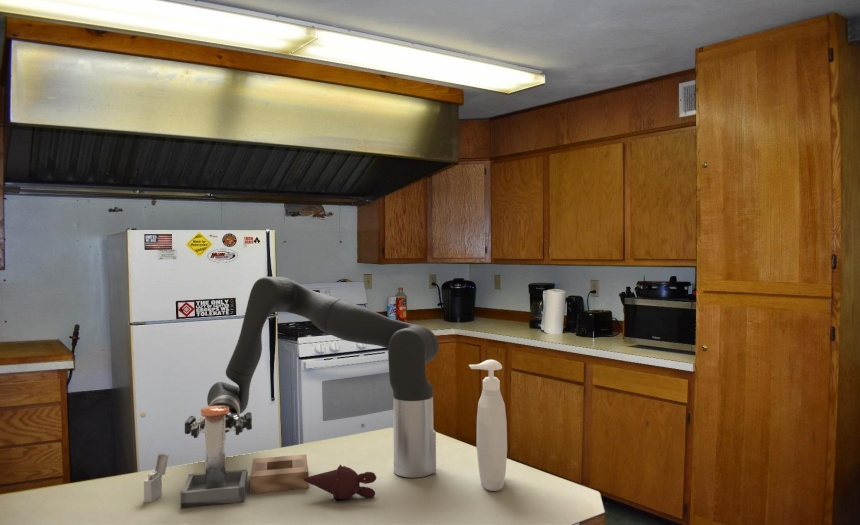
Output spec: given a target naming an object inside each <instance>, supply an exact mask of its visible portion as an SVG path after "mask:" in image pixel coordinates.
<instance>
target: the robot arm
mask: <svg viewBox="0 0 860 525" xmlns="http://www.w3.org/2000/svg"><path fill="white" fill-rule="evenodd" d="M271 313H289V314H294V315H297V316H300V317H303V318H305V319H307V320H309V321H310V322H311V323H312V324H313V325H314V326H315V327H316V328H318V329H319V330H320V331H322V332H324V333H326V334H327V335H330V336H332V337H335V338H338V339H340V340H343V341H347V342H351V343H357V344H364V345H372V346H379V347H382V348H386V349H388V352H387V356H388V360H387V361H388V376H389V384H390V387H391V390H392V396H393V397H392V401H393V403H392V408H393V410H392V412H393V413H392V414H393V415H392V416H393V420H392V421H393V424H392V425H393V426H392V427H393V473H394V474H395V475H397V476H400V477H404V478H412V479H413V478H421V477H422V478H423V477H427V476H429V475H432V474H437V433H436V430H435V429H434V387H433V384H432V383H431V382H430V381H428V380H427V374H426V371H427V370H426V364H428V363H430V362H431V361H433V360H434V359H435V358H436V356H437V354H438V352H439V349H440V343H439V340H438V338H437V335H435V333H434V332H433V331H432V329H431V330H430V329H429V328H428V327H426V326H422V325H420V324H413V323H409V322H405V321H401V320H398V319H394V318H390V317H387V316H385V315H384V314H381V313H379V312H376V311H374V310H372V309H370V308H366V307H363V306H361V305H359V304H356V303H354V302H350V301H348V300H345V299H342V298H340V297H336V296H333V295H330V294H326V293H322V292H317V291H314V290H313V289H310V288H308V287H306V286H304V285H303V284H300V283H298V282H296V281H295V280H292V279H290V278H288V277H283V276H263V277H260V278H258V279H257V280H256V281H255V282H254V284H253V286H252V287H251V290H250V293H249V296H248V301H247V304H246V308H245V312H244V316H243V321H242V326H241V330H240V333H239V337H238V339H237V343H236V345H235V347H234V350H233V352H232V355H231V357H230V359H229V362H228V364H227V367H226V369H225V376H226V377H227V378H228V380H230V381H231V382H233V383H235V384H236V385H237V386H236V385H233V384H230V383H227V382H224V381H218V382H215V383H214V384H212V386H211V387H209V388H210V389H209V391H208V393H207V398H206V399H207V400H206V401H207V403H206V404H207V407H210V406H228V407H229V413H228V414H226V415H225V434H227V433H229V432H235V436H239V435H240V433H243V431H245V430H244V429H246V430H247V431H250V430H252V429H253V424H252V423H253V422H252V421H253V416H252V412H250V411H249V412H248V411H247V412H246V413H244V412H245V411H246V409H247V407H248V404H249V396H250V390H251V389H250V388H251V382H252V379H253V376H254V373H255V371H256V369H257V367H258V365H259V363H260V360H261V357H262V351H263V342H262V341H263V338H262V336H263V335H262V334H263V329H264V326H265V324H266V321H267V319H268V318H269V316H270V315H271ZM243 413H244V414H243ZM241 414H243V415H242V416H240V415H241ZM184 434H185V435H189V434H190V436H191V437H193V438H194V439H198V438H199V435H200V434H205V417H204V416H201V417H200V418H198V419H197V417H196V416H194V415H191V416H188V418H187V419H186V420H185V422H184Z"/></svg>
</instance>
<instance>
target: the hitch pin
mask: <svg viewBox="0 0 860 525" xmlns="http://www.w3.org/2000/svg"><path fill="white" fill-rule="evenodd" d="M228 413H229V407H228V406H210V407H209V406H206V407H203V408H201V409H200V416H201V417H205V433H204V446H205V447H204V450H205V452H204V454H205V455H204V458H205V459H204V461H205V462H204V463H205V464H204V465H205V472H204V473H205V474H206V489H212V488H223V487H226V471H227V468H226V466H227V465H226V464H227V461H226V460H227V459H226V458H227V457H226V455H227V454H226V453H227V451H226V433H225V415H226V414H228Z"/></svg>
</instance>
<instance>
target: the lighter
mask: <svg viewBox="0 0 860 525" xmlns="http://www.w3.org/2000/svg"><path fill="white" fill-rule="evenodd" d="M168 461H169V454H167V453H158V454H157V458H156V461H155V462H156V463H155V468H154V471H151V472H150V473H148V477H147V478H146V479H144V480H143V502H144V503H153V502H154V501H156V500H157V499H159V497H161V496H162V495H163V490H162V489H163V485H162V480H163V478H162V476H165V475H166V471H167V466H168Z"/></svg>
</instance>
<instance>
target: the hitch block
mask: <svg viewBox="0 0 860 525" xmlns="http://www.w3.org/2000/svg"><path fill="white" fill-rule="evenodd" d="M251 463H252V464H251V470H250V478H249V479H250V480H249V483H250V485H249V486H250V491H249V493H250V494H258V493H259V494H260V493H267V492H278V491H279V492H280V491H287V490H288V491H289V490H299V489H308V488H309V486H310V485H309V484H310V483H308V482H306V481H304V478H305V477H309V465H308V458H307V454H305V453H304V454H293V455H283V456H271V457H257V458H252V462H251Z"/></svg>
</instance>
